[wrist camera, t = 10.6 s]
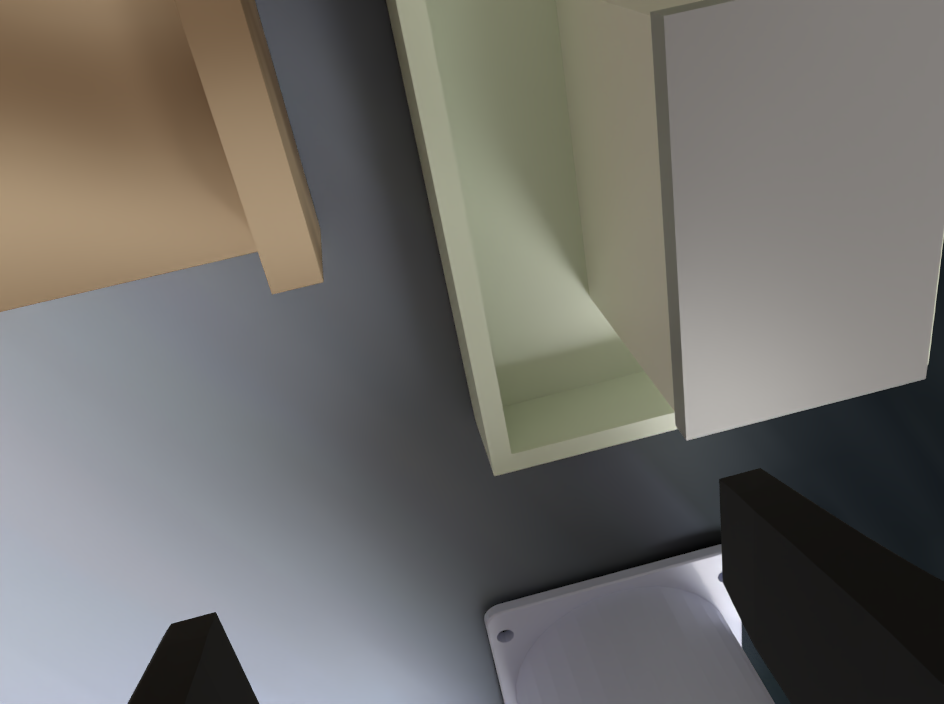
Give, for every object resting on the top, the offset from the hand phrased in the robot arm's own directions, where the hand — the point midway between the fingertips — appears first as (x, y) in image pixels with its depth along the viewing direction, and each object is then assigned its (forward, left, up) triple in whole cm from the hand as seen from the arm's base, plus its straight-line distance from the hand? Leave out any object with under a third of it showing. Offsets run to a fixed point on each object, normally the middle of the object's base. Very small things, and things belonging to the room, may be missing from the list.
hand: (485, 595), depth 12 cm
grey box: (+3, -7, -9) cm, 11 cm away
